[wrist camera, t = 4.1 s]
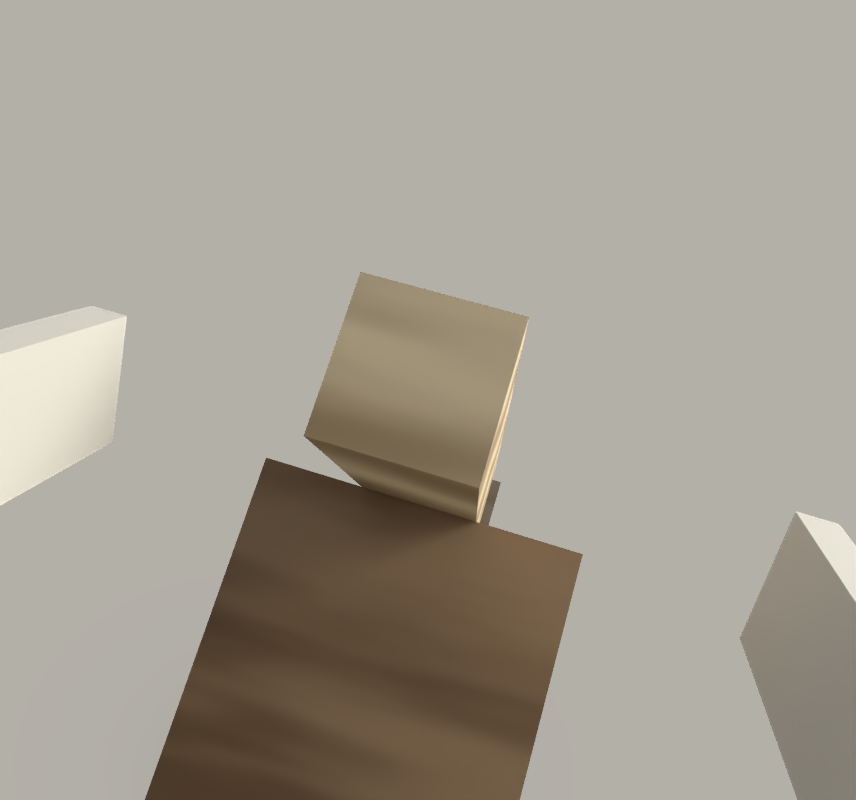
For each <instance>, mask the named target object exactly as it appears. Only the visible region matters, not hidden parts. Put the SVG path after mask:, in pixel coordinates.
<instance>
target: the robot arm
mask: <svg viewBox="0 0 856 800" xmlns="http://www.w3.org/2000/svg"><path fill="white" fill-rule="evenodd" d="M126 318H127V316H125V315H122V314H118V313H115V312H112V311H108V310H105V309H101V308H98V307H94V306H89V307H85V308H81V309H77V310H73V311H69V312H66V313H62V314H58V315H55V316H50V317H47V318H43V319H39V320H35V321H31V322H27V323H23V324H20V325H16V326H12V327H8V328H4V329H1V330H0V505H2V504H4V503H6V502H7V501H9V500H11V499H13V498H14V497H16V496H18V495H20V494H22V493H23V492H25V491H27V490H29V489H30V488H32V487H34V486H36V485H37V484H39V483H41V482H43V481H45V480H46V479H48V478H50V477H52V476H53V475H55V474H57V473H59V472H61V471H62V470H64V469H66V468H67V467H69V466H71V465H73V464H75V463H76V462H78V461H80V460H82V459H83V458H85V457H87V456H89V455H90V454H92V453H94V452H96V451H98V450H99V449H101V448H103V447H104V446H106V445H108V444H110V443H112V442H113V433H114V424H115V416H116V407H117V398H118V389H119V381H120V371H121V363H122V355H123V346H124V337H125V328H126V320H127V319H126ZM740 639H741V642H742V645H743V648H744V651H745V653H746V656H747V659H748V662H749V665H750V668H751V670H752V673H753V676H754V679H755V682H756V684H757V687H758V690H759V693H760V696H761V698H762V701H763V704H764V707H765V709H766V712H767V715H768V718H769V721H770V724H771V726H772V729H773V732H774V735H775V738H776V741H777V743H778V746H779V749H780V752H781V755H782V757H783V760H784V763H785V766H786V769H787V771H788V774H789V777H790V780H791V783H792V785H793V788H794V791H795V794H796V797H797V800H856V546H855V544H854V543H853V542H852V540H851V539H850V538H849V537H848V535H847V534H846V533H845V531H844V530H843V529H842V528H841V526H840V525H839V524H837V523H834V522H830V521H827V520H823V519H820V518H817V517H813V516H810V515H806V514H803V513H799V512H795V515H794V517H793V519H792V521H791V523H790V526H789V528H788V530H787V533H786V535H785V537H784V539H783V542H782V544H781V546H780V548H779V551H778V553H777V555H776V557H775V560H774V562H773V564H772V567H771V569H770V571H769V573H768V576H767V578H766V580H765V582H764V585H763V587H762V589H761V591H760V594H759V596H758V598H757V601H756V603H755V605H754V607H753V610H752V612H751V614H750V616H749V619H748V621H747V623H746V626H745V628H744V630H743V632H742V635H741V637H740Z"/></svg>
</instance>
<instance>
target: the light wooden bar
mask: <svg viewBox="0 0 856 800" xmlns="http://www.w3.org/2000/svg"><path fill="white" fill-rule="evenodd" d="M528 320H529V317H527V316H523V315H519V314H515V313H511V312H508V311H504V310H500V309H497V308H493V307H489V306H486V305H482V304H478V303H474V302H471V301H467V300H463V299H459V298H456V297H452V296H448V295H445V294H440V293H437V292H433V291H429V290H426V289H422V288H418V287H415V286H411V285H407V284H403V283H399V282H396V281H392V280H388V279H385V278H381V277H377V276H373V275H370V274H366V273H362V272H360V275H359V278H358V281H357V284H356V287H355V289H354V292H353V295H352V298H351V301H350V304H349V307H348V310H347V313H346V315H345V319H344V321H343V324H342V327H341V330H340V333H339V336H338V339H337V341H336V345H335V347H334V350H333V353H332V356H331V359H330V362H329V365H328V368H327V370H326V373H325V376H324V379H323V382H322V385H321V388H320V391H319V393H318V397H317V399H316V402H315V405H314V408H313V411H312V414H311V417H310V419H309V423H308V426H307V428H306V431H305V434H304V436H305V437H306V438H307V439H308V440H309V441H310V442H312V443H313V444H314V445H315V446H316V447H317V448H318V449H319V450H321V451H322V452H323V453H324V454H325V455H326V456H328V457H329V458H330V459H331V460H332V461H333V462H334V463H335V464H337V465H338V466H339V467H340V468H341V469H342V470H343V471H345V472H346V473H347V474H348V475H349V476H350V477H351V478H353V479H354V480H355V481H356V482H357V483H358V484H359V485H360V486H362V487H363V488H367V489H370V490H373V491H377V492H380V493H383V494H386V495H390V496H393V497H396V498H400V499H403V500H406V501H409V502H413V503H416V504H419V505H422V506H426V507H429V508H432V509H436V510H439V511H442V512H445V513H449V514H452V515H455V516H459V517H462V518H465V519H468V520H472V521H475V522H478V523H481V524H485V525H489V521H490V517H491V514H492V511H493V507H494V504H495V500H496V497H497V493H498V490H499V486H500V482H498V481H494V480H492V478H493V475H494V472H495V468H496V464H497V459H498V455H499V451H500V446H501V442H502V437H503V433H504V428H505V424H506V419H507V415H508V410H509V406H510V401H511V397H512V392H513V388H514V383H515V379H516V374H517V369H518V365H519V361H520V356H521V352H522V347H523V342H524V338H525V333H526V328H527V324H528Z"/></svg>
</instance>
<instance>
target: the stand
mask: <svg viewBox="0 0 856 800" xmlns="http://www.w3.org/2000/svg"><path fill="white" fill-rule="evenodd" d="M581 558H582V554H580V553H576V552H573V551H570V550H567V549H563V548H560V547H557V546H553V545H550V544H547V543H544V542H540V541H537V540H534V539H531V538H527V537H524V536H521V535H518V534H514V533H511V532H508V531H504V530H501V529H498V528H495V527H491V526H488V525H485V524H481V523H478V522H475V521H472V520H468V519H465V518H462V517H459V516H455V515H452V514H449V513H445V512H442V511H439V510H436V509H432V508H429V507H426V506H422V505H419V504H416V503H413V502H409V501H406V500H403V499H400V498H396V497H393V496H390V495H386V494H383V493H380V492H377V491H373V490H370V489H367V488H363V487H360V486H357V485H354V484H350V483H347V482H344V481H341V480H337V479H334V478H330V477H327V476H324V475H321V474H318V473H314V472H311V471H307V470H304V469H301V468H298V467H295V466H291V465H288V464H285V463H282V462H278V461H275V460H272V459H268V458H266V460H265V463H264V466H263V469H262V471H261V474H260V477H259V480H258V483H257V485H256V488H255V491H254V494H253V497H252V499H251V502H250V505H249V508H248V511H247V514H246V517H245V520H244V522H243V525H242V528H241V531H240V534H239V536H238V539H237V542H236V545H235V548H234V550H233V553H232V556H231V559H230V562H229V564H228V567H227V570H226V573H225V576H224V578H223V581H222V584H221V587H220V590H219V592H218V595H217V598H216V601H215V604H214V607H213V609H212V612H211V615H210V618H209V621H208V623H207V626H206V629H205V632H204V635H203V638H202V640H201V643H200V646H199V649H198V652H197V655H196V657H195V660H194V663H193V666H192V669H191V672H190V674H189V677H188V680H187V683H186V685H185V689H184V691H183V694H182V697H181V700H180V702H179V705H178V708H177V711H176V714H175V716H174V719H173V722H172V725H171V728H170V731H169V733H168V736H167V739H166V742H165V745H164V747H163V750H162V753H161V756H160V759H159V762H158V764H157V767H156V770H155V773H154V776H153V778H152V781H151V784H150V787H149V790H148V793H147V795H146V798H145V800H520V796H521V792H522V788H523V784H524V780H525V777H526V773H527V769H528V765H529V761H530V757H531V753H532V749H533V746H534V742H535V737H536V733H537V730H538V726H539V722H540V718H541V714H542V711H543V707H544V702H545V698H546V695H547V691H548V687H549V683H550V679H551V675H552V671H553V668H554V664H555V660H556V656H557V652H558V648H559V644H560V640H561V636H562V632H563V629H564V625H565V621H566V617H567V613H568V609H569V605H570V601H571V598H572V594H573V589H574V586H575V582H576V578H577V574H578V570H579V566H580V563H581Z"/></svg>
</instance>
